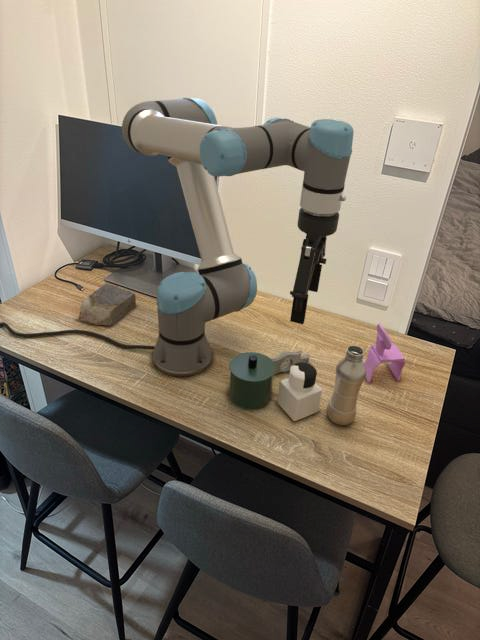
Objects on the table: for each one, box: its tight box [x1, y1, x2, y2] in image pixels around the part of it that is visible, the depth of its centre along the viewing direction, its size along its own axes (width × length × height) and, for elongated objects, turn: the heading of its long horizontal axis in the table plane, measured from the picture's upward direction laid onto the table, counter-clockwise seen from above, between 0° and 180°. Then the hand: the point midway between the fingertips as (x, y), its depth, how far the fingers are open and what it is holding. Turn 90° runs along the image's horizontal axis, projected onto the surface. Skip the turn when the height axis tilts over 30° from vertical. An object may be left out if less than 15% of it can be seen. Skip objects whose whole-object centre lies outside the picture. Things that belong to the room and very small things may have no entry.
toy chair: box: [363, 323, 406, 383], centre depth 123 cm, size 8×9×15 cm
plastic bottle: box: [326, 344, 366, 426], centre depth 108 cm, size 6×7×20 cm
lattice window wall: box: [269, 348, 312, 375], centre depth 126 cm, size 12×2×6 cm, turn 117°
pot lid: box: [228, 351, 275, 383], centre depth 113 cm, size 11×11×4 cm
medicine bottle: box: [277, 362, 323, 422], centre depth 112 cm, size 7×7×12 cm
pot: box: [229, 372, 274, 410], centre depth 116 cm, size 10×10×8 cm
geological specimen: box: [78, 282, 137, 327], centre depth 144 cm, size 11×6×15 cm
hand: (304, 305), depth 103 cm, fingers open, 13 cm apart
